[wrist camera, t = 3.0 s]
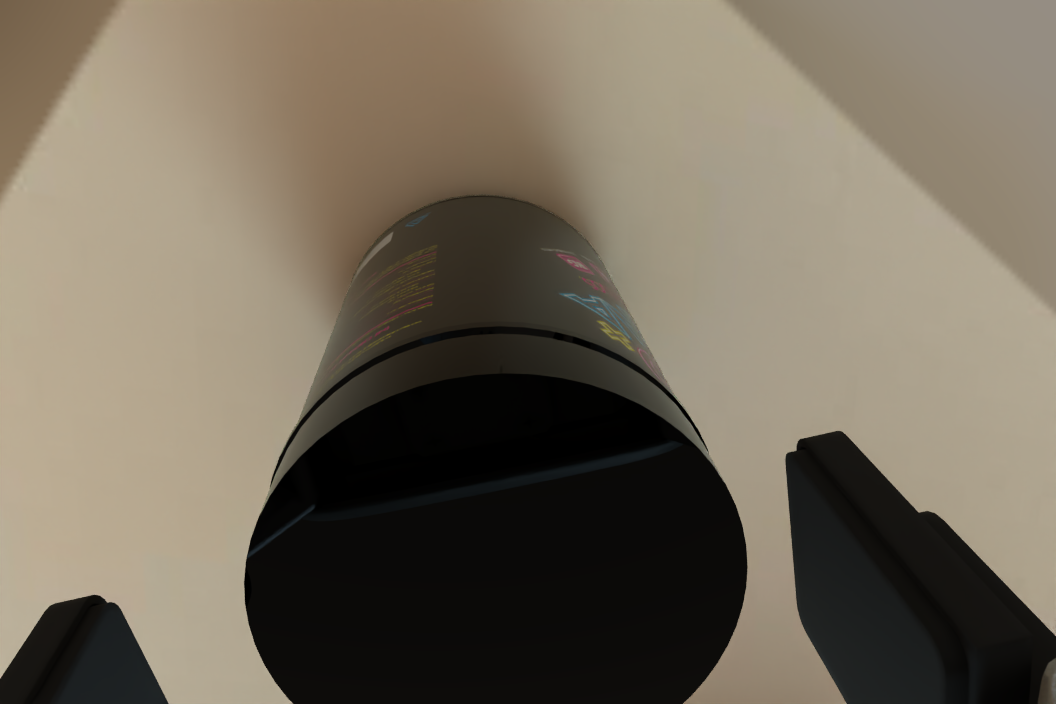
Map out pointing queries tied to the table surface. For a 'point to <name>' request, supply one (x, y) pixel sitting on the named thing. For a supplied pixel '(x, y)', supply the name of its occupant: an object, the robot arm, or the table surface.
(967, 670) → the robot arm
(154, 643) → the table surface
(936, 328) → the table surface
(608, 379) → the supplement container
